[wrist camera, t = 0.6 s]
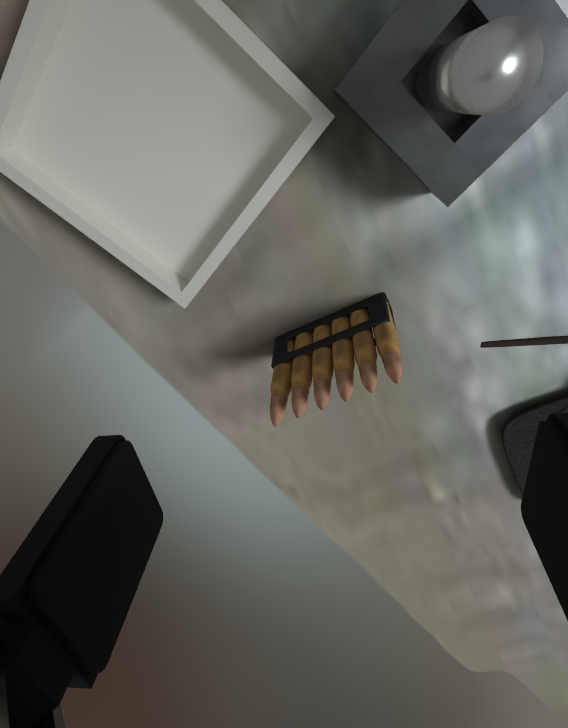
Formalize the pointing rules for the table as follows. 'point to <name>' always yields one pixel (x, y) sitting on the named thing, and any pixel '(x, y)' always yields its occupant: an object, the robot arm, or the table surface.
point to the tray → (152, 128)
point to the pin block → (444, 129)
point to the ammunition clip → (334, 355)
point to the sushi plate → (527, 417)
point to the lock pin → (482, 69)
